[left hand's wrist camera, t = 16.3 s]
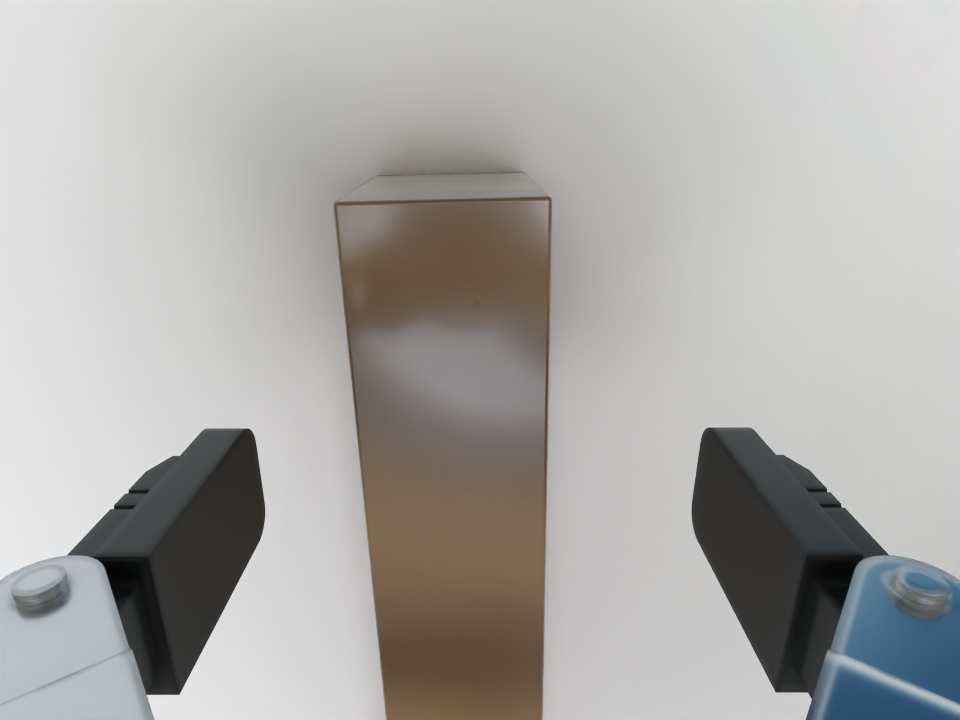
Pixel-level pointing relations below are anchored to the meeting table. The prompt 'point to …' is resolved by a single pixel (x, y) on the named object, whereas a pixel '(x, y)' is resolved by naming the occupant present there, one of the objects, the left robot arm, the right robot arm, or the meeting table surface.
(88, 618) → the left robot arm
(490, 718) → the beam
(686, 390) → the meeting table surface
